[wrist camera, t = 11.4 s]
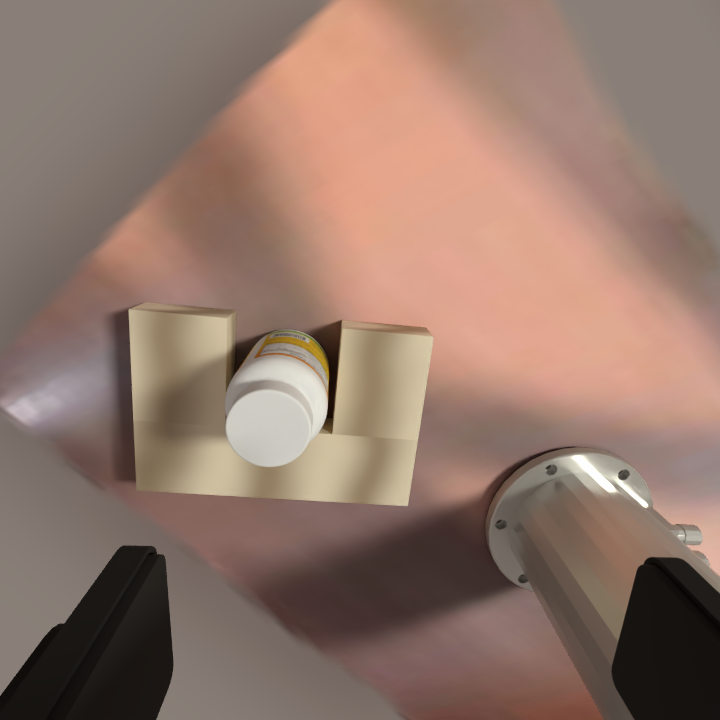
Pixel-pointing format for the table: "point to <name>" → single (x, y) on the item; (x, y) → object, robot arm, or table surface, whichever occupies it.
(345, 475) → the notched board
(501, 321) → the table surface
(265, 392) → the supplement bottle
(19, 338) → the table surface
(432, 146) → the table surface
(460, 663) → the table surface
